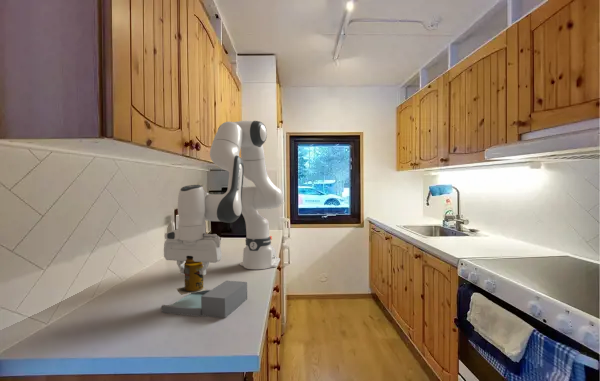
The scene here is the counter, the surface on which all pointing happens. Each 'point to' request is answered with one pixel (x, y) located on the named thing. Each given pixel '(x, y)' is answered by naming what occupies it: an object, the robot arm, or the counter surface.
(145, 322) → the counter surface
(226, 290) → the teal-floored tray
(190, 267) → the condiment
